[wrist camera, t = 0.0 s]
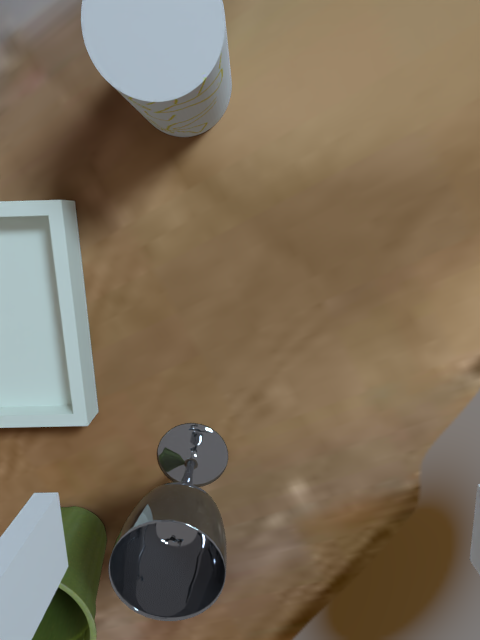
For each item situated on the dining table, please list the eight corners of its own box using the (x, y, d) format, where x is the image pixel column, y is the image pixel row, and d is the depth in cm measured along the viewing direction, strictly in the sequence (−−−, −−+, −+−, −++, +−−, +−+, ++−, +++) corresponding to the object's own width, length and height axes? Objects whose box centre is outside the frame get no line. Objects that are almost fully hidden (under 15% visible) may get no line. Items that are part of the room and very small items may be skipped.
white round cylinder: (139, 140, 38) (92, 106, 26) (127, 33, 36) (70, -55, 24) (234, 133, 37) (230, 96, 26) (228, 25, 36) (219, -67, 24)
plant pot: (9, 566, 48) (-61, 670, 37) (29, 472, 45) (-40, 554, 34) (116, 593, 48) (78, 703, 38) (142, 502, 46) (109, 592, 35)
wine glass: (229, 493, 45) (222, 624, 31) (152, 488, 45) (108, 617, 31) (234, 422, 44) (229, 526, 29) (154, 416, 44) (107, 518, 29)
